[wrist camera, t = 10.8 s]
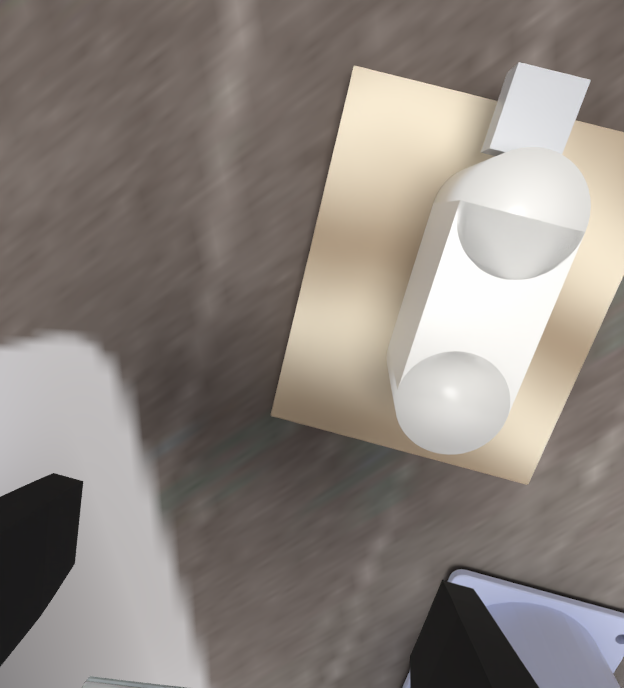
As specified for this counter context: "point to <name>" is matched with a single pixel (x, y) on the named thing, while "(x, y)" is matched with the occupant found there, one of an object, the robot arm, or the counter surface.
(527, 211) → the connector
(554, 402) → the birch board
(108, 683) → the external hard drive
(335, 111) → the counter surface
